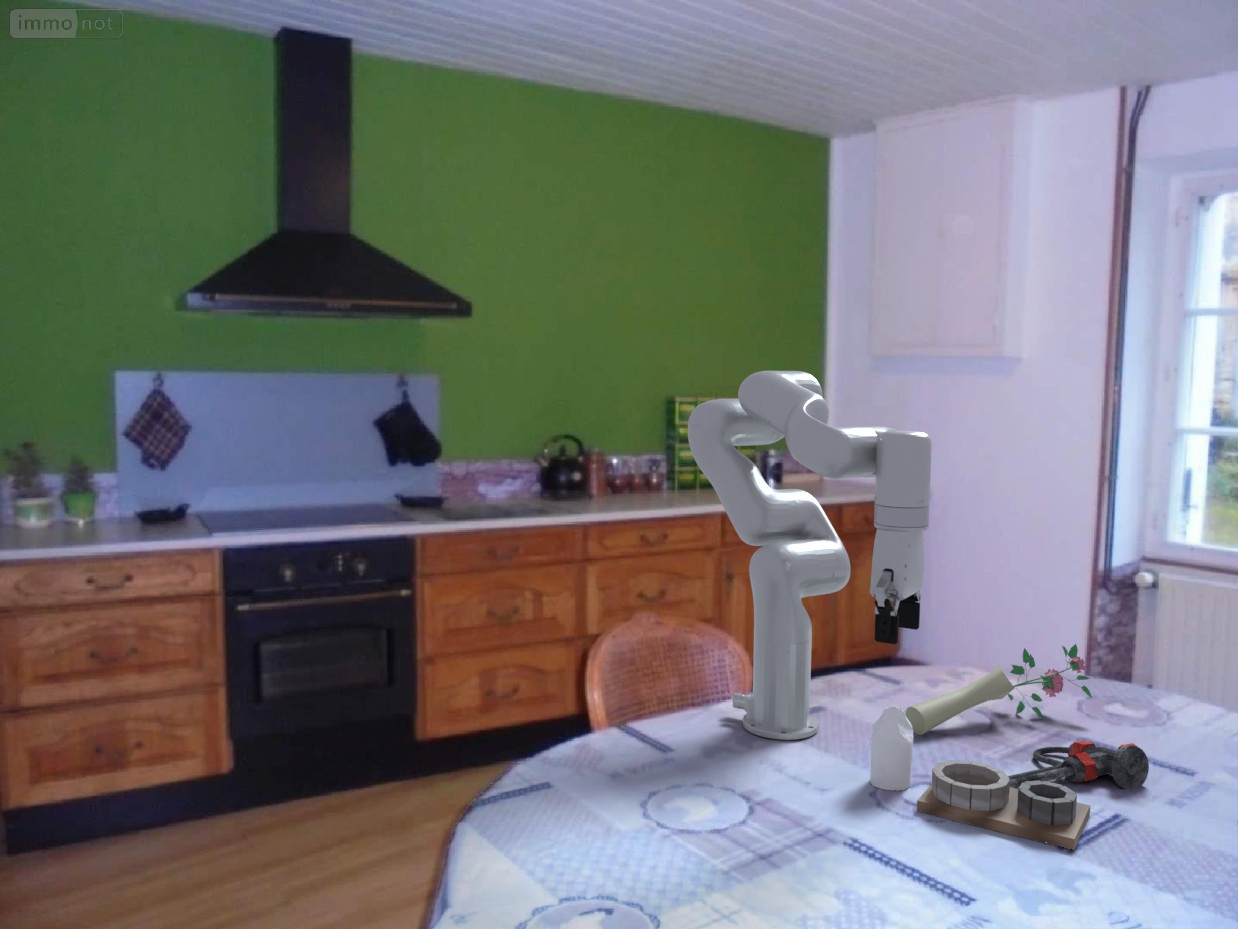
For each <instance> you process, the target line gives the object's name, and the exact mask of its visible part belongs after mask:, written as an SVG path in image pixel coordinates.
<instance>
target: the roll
mask: <svg viewBox="0 0 1238 929" xmlns="http://www.w3.org/2000/svg"><path fill="white" fill-rule="evenodd" d="M871 728H872V730H871V731H872V732H871V745H870V746H871V748H870V751H871V752H870V778H869V781H870V785H872V786H873V787H875V788H876V789H877V788H878V789H881V790H886V791H895V790H896V791H897V792H900V790H901V791H904V790H907V789H909V788H911V784H912V782H911V781H912V780H911V779H912V776H911V775H912V762H913V747H914V731H913V729H912V725H911V723H910V721H909V720H908V719H907V717H906V712H905V711H904V710H902V708H901V707H897V706H896V705H891V706H887V707H885V708H884V709H883V711H882V713H881V716H880V717H879V718H878V719H876V721H875V722H874V723H873V725H872V727H871Z"/></svg>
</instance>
